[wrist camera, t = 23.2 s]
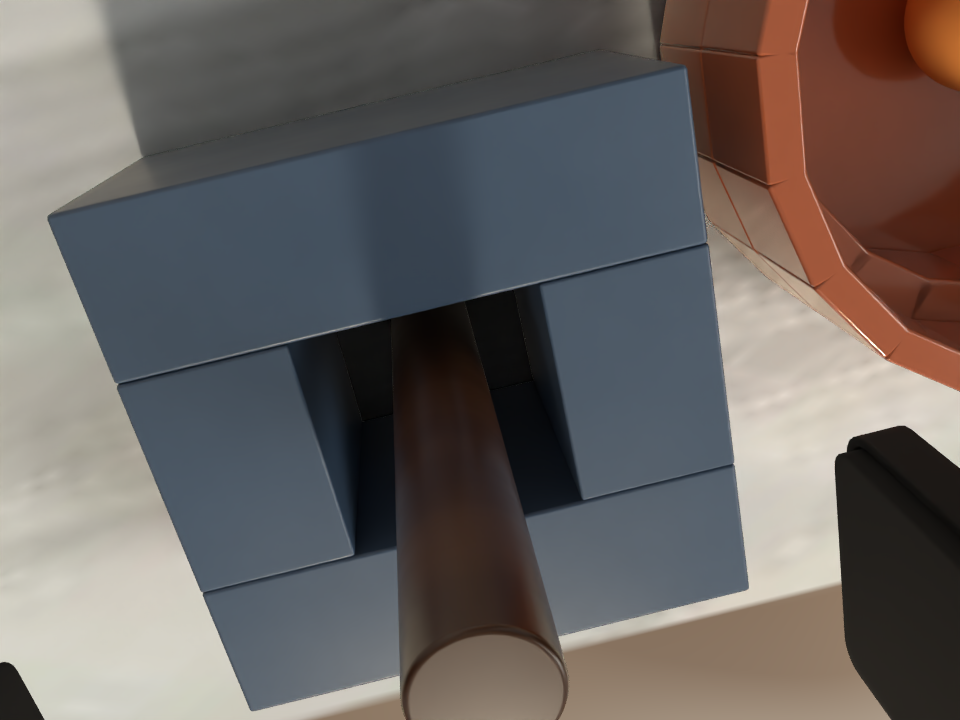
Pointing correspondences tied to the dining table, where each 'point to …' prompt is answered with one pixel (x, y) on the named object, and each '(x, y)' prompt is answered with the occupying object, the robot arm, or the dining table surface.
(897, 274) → the bowl
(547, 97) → the holder
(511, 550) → the stick
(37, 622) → the dining table surface
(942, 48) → the ball
